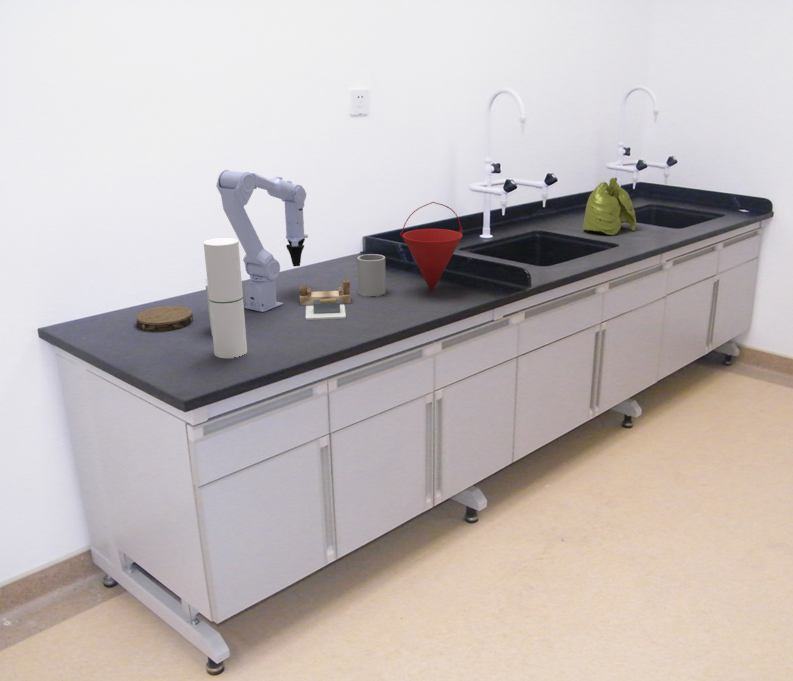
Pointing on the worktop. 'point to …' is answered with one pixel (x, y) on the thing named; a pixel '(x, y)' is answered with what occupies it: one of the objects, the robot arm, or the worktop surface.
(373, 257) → the cup
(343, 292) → the wooden block stand
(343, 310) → the white base plate
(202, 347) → the worktop surface
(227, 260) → the container
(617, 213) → the lungs
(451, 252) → the fire bucket
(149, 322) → the wood slice
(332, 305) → the lever cap
